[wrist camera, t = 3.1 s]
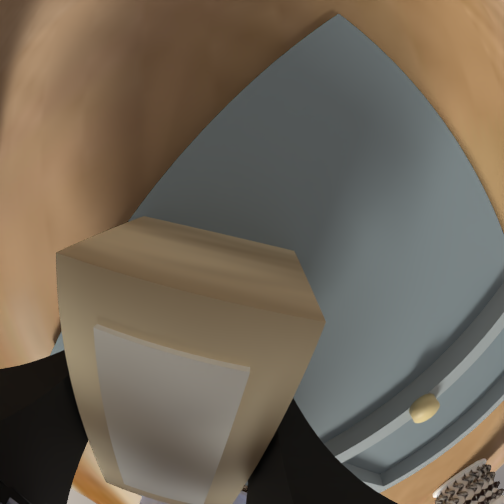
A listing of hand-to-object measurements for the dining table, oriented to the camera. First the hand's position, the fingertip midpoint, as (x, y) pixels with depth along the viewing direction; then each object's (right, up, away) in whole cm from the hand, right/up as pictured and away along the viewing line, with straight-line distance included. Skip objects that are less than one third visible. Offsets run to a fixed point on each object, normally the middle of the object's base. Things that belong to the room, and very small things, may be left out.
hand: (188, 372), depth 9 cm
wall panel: (+7, -2, +2) cm, 8 cm away
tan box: (0, 0, +1) cm, 1 cm away
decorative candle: (+29, -25, +8) cm, 39 cm away
